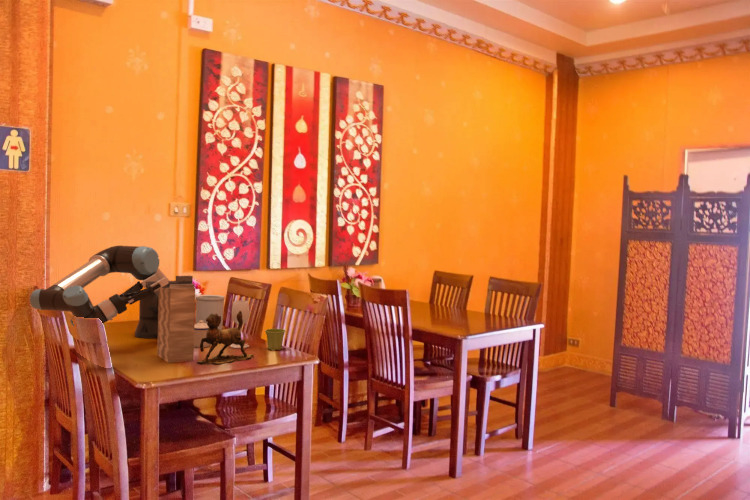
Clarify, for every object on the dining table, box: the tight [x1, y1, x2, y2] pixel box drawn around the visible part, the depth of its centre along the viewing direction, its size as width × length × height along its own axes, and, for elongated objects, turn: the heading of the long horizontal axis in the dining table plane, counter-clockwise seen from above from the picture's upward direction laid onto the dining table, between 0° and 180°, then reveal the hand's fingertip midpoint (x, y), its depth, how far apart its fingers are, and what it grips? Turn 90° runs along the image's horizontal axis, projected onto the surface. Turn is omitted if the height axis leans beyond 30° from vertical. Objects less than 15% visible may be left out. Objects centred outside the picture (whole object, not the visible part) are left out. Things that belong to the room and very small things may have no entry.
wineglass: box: [230, 300, 251, 349], centre depth 280 cm, size 9×9×21 cm
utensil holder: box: [195, 294, 225, 330], centre depth 322 cm, size 15×15×18 cm
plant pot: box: [264, 328, 286, 351], centre depth 278 cm, size 9×9×9 cm
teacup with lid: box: [194, 321, 211, 349], centre depth 279 cm, size 12×9×12 cm
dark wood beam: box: [145, 275, 193, 289], centre depth 247 cm, size 3×18×4 cm, turn 126°
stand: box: [156, 283, 196, 364], centre depth 252 cm, size 16×10×32 cm, turn 36°
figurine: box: [196, 311, 254, 366], centre depth 252 cm, size 13×25×20 cm, turn 128°
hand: (161, 278), depth 245 cm, fingers open, 13 cm apart
